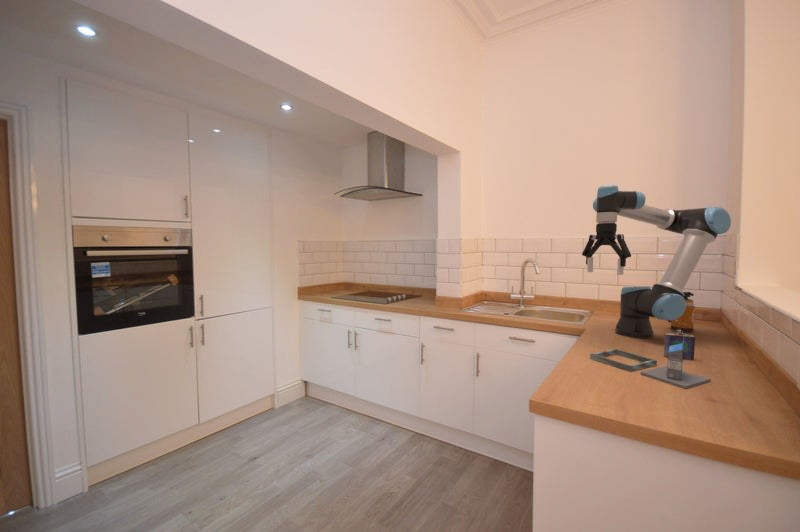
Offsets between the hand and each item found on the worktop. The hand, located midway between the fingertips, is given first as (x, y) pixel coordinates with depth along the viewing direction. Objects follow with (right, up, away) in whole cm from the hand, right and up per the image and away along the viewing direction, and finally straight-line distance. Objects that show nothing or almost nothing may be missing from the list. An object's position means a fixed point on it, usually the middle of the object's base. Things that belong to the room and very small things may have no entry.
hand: (604, 273), depth 150 cm
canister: (+53, -29, +26) cm, 66 cm away
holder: (-5, -32, -20) cm, 38 cm away
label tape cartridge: (+2, -32, -36) cm, 48 cm away
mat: (+2, -33, -36) cm, 49 cm away
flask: (+19, -32, -16) cm, 40 cm away
